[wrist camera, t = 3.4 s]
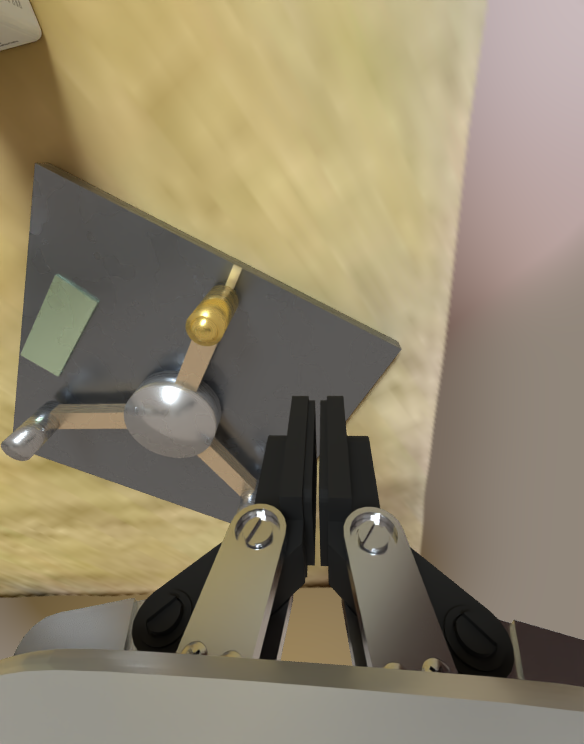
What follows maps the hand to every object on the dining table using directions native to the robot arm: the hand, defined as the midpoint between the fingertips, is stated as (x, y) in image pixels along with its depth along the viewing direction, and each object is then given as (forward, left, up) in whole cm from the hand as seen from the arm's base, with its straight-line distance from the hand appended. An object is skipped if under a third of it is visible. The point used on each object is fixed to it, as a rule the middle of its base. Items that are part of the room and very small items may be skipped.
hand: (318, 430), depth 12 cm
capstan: (-8, +5, -10) cm, 14 cm away
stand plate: (-11, +5, -12) cm, 17 cm away
